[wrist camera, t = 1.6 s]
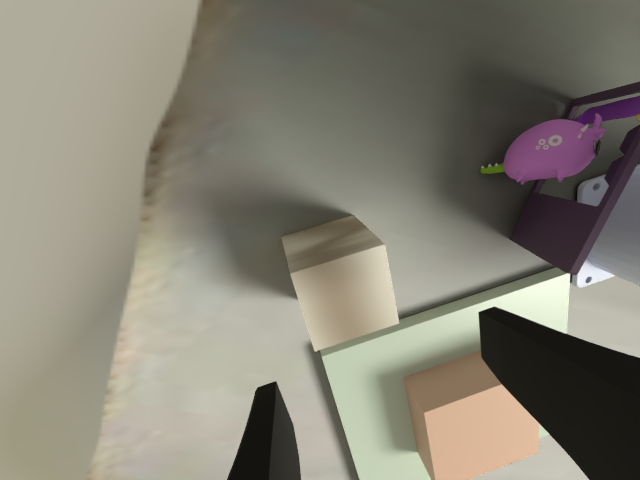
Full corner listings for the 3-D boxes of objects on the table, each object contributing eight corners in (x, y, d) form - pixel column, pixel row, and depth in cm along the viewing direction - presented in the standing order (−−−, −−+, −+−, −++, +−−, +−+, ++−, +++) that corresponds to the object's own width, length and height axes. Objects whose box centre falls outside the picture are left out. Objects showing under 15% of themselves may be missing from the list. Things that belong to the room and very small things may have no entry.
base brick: (506, 340, 23) (540, 370, 21) (508, 417, 26) (538, 452, 24) (403, 377, 23) (424, 412, 20) (417, 452, 26) (437, 492, 23)
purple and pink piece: (592, 281, 15) (705, 79, 13) (483, 249, 16) (573, 45, 13) (525, 243, 22) (592, 104, 19) (449, 221, 22) (505, 81, 20)
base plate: (557, 266, 23) (570, 272, 22) (551, 420, 29) (561, 430, 28) (318, 346, 22) (321, 356, 21) (363, 492, 28) (367, 505, 27)
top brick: (353, 214, 19) (385, 244, 14) (366, 278, 21) (399, 323, 16) (281, 236, 19) (289, 273, 14) (300, 299, 20) (314, 351, 16)
